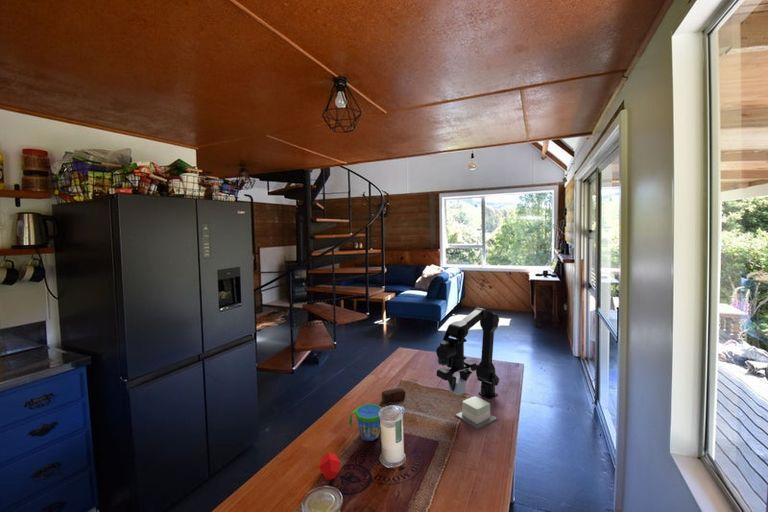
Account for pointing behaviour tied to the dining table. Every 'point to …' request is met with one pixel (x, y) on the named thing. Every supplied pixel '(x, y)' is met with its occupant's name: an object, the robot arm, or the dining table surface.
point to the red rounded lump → (329, 466)
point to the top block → (459, 386)
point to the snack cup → (367, 421)
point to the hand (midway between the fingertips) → (457, 389)
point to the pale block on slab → (476, 412)
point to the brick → (393, 395)
